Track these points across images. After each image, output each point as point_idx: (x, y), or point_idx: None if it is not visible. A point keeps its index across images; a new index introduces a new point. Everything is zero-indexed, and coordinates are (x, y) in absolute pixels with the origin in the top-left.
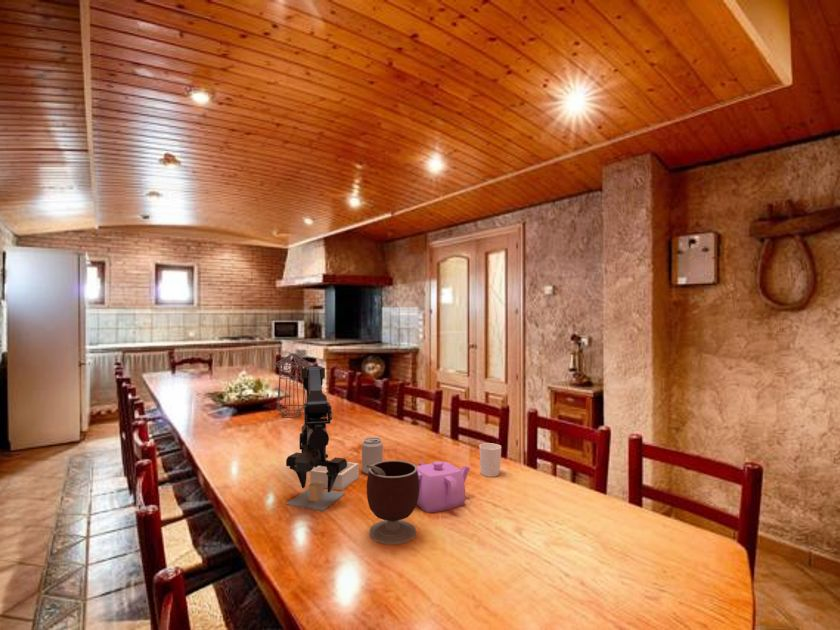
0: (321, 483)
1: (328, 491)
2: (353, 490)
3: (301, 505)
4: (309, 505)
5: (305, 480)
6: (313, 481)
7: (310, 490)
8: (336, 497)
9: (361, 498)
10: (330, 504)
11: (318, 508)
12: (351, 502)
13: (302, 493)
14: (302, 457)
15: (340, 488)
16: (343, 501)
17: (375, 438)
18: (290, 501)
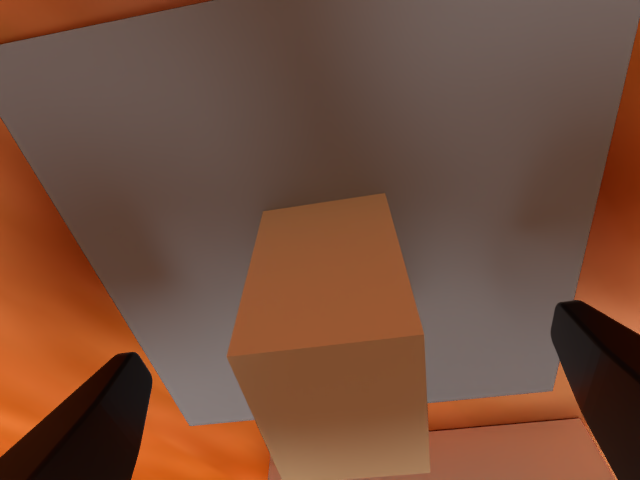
0: (278, 452)
1: (116, 359)
2: (199, 468)
3: (358, 4)
4: (251, 70)
5: (604, 435)
6: (563, 462)
7: (369, 279)
8: (175, 354)
9: (27, 416)
10: (68, 224)
11: (63, 58)
12: (6, 347)
13: (563, 285)
14: None
15: None
16: (77, 333)
17: None
18: (616, 32)
